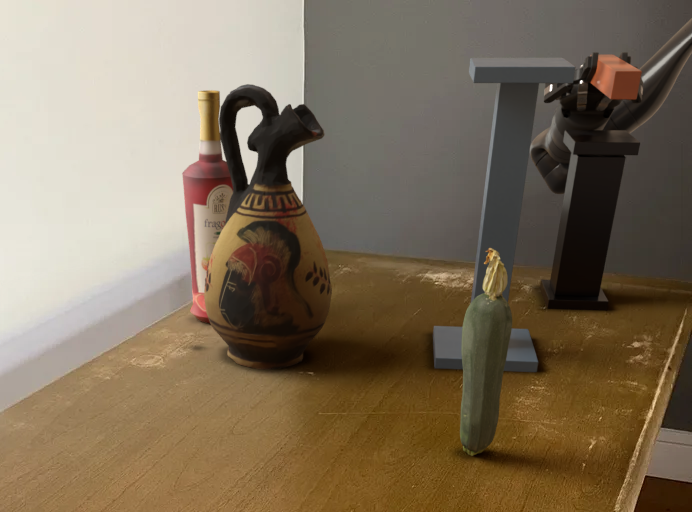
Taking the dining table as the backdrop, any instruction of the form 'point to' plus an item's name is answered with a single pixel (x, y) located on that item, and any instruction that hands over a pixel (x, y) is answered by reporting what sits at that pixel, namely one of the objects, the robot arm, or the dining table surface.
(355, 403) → the dining table surface
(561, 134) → the robot arm
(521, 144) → the blue display stand
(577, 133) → the pedestal
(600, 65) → the orange rectangular block
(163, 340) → the dining table surface
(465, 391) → the vegetable
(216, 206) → the liquor
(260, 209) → the ceramic jug
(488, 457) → the dining table surface
